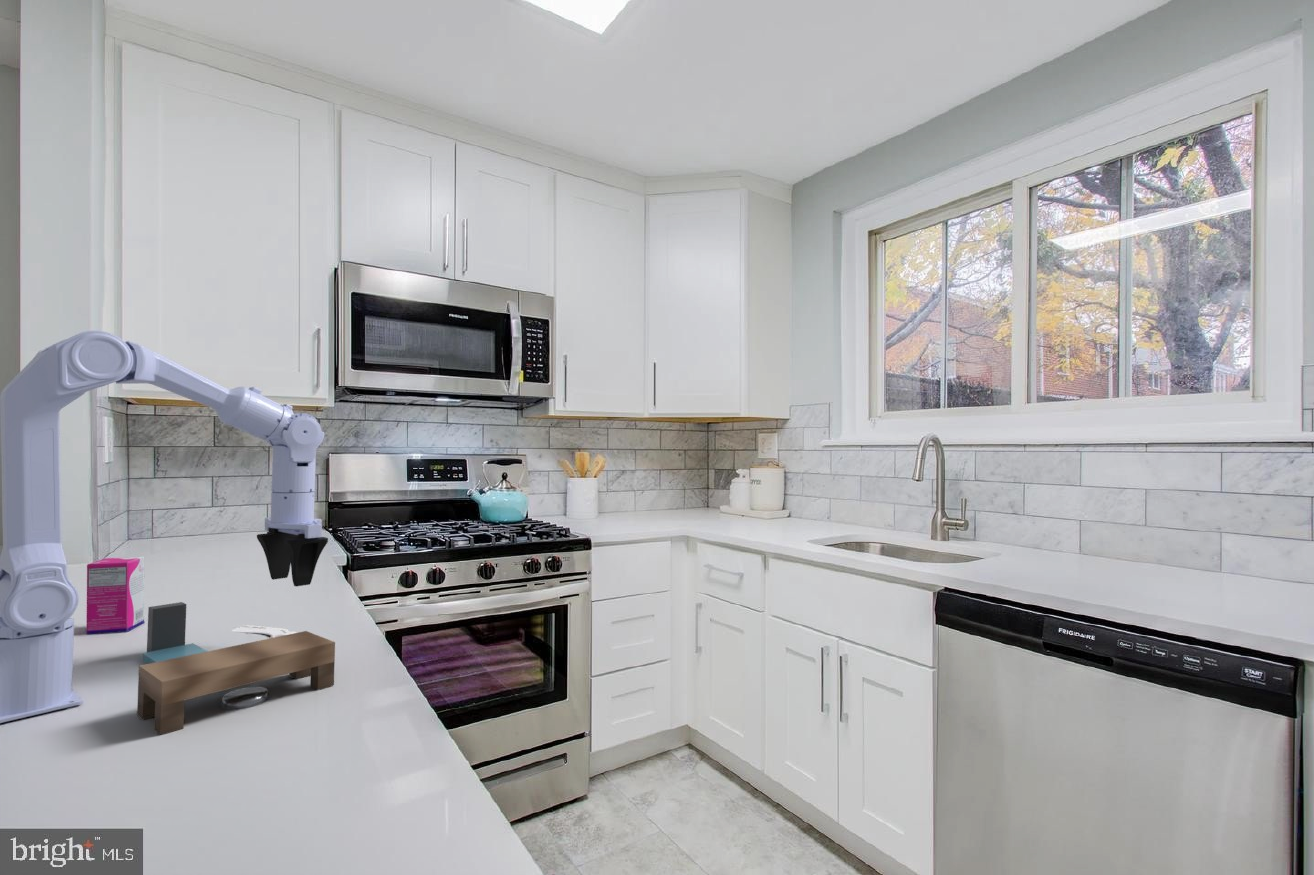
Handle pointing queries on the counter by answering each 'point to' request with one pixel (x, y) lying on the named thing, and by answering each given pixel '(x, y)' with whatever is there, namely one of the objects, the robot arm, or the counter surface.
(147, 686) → the low wooden stool
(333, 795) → the counter surface
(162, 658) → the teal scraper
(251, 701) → the steel token
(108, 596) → the supplement box
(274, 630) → the knife
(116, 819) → the counter surface
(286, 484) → the robot arm
